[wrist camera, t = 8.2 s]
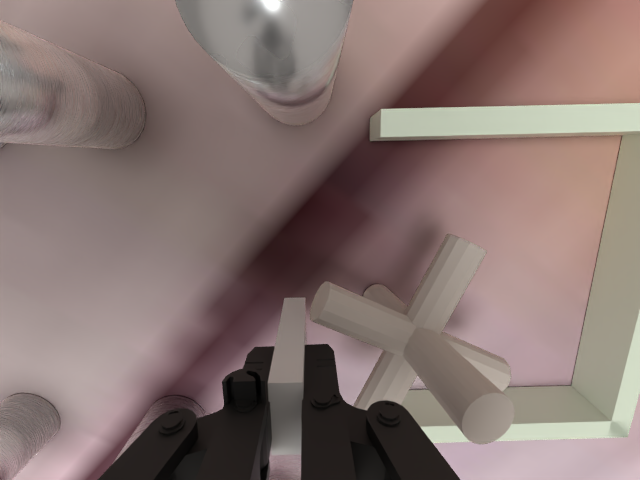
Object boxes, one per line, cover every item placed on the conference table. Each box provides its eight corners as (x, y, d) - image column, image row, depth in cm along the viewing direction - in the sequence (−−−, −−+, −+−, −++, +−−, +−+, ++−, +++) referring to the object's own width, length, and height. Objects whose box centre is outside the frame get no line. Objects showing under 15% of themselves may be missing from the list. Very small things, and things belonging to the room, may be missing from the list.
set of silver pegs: (-122, 51, 16) (-819, -123, 6) (332, 41, 16) (356, -145, 6) (14, 459, 22) (-221, 691, 12) (336, 450, 22) (352, 672, 13)
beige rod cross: (403, 390, 21) (522, 571, 11) (267, 340, 19) (271, 515, 9) (477, 259, 20) (676, 335, 10) (344, 188, 18) (440, 201, 8)
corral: (369, 117, 17) (381, 109, 14) (649, 111, 17) (718, 101, 14) (365, 406, 21) (373, 444, 19) (585, 399, 22) (627, 437, 19)
